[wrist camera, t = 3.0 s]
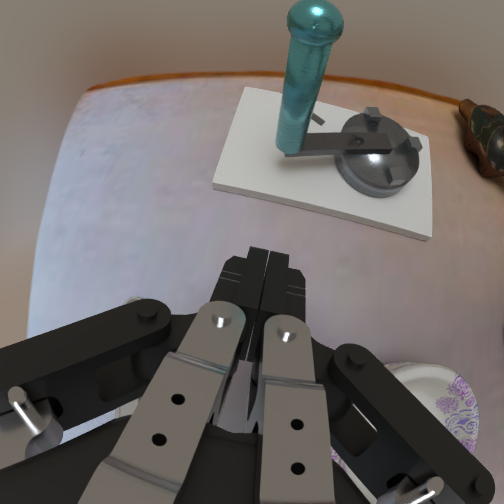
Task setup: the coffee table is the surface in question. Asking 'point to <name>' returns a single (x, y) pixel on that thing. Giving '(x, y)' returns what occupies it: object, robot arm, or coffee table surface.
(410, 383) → the paper bowls
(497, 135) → the decorative turtle
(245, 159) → the white rectangular board
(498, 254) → the coffee table surface
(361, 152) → the teal handled crank
